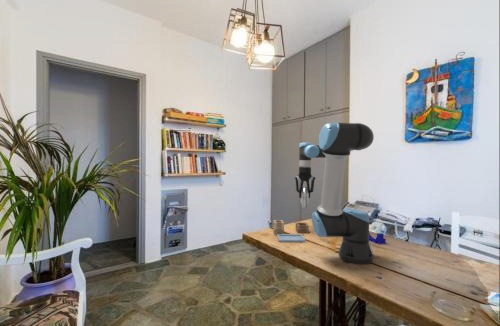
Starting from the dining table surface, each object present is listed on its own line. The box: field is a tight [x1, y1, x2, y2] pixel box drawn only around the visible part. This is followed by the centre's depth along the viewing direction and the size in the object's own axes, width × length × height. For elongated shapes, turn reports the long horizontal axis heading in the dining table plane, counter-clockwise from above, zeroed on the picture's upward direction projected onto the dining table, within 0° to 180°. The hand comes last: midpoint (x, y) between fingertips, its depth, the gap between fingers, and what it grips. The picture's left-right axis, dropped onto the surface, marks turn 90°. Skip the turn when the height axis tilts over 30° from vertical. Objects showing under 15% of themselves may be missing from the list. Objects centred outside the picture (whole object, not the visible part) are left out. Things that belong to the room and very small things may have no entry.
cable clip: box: [369, 232, 387, 245], centre depth 140 cm, size 12×4×6 cm, turn 19°
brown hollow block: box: [295, 222, 310, 234], centre depth 157 cm, size 7×7×5 cm
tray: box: [276, 233, 307, 243], centre depth 142 cm, size 11×15×1 cm
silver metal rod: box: [301, 186, 308, 210], centre depth 155 cm, size 3×3×14 cm
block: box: [272, 219, 285, 236], centre depth 152 cm, size 6×6×8 cm
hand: (304, 202), depth 155 cm, fingers closed on silver metal rod, 3 cm apart
